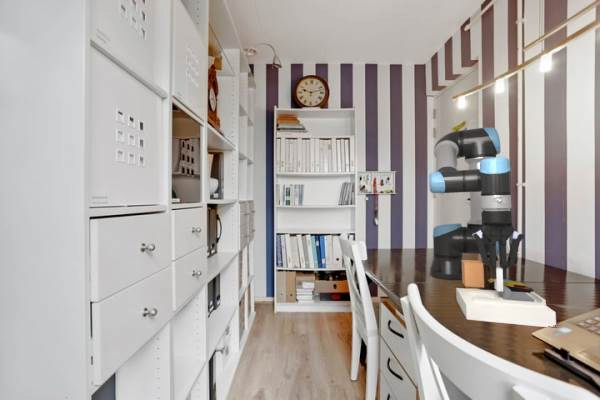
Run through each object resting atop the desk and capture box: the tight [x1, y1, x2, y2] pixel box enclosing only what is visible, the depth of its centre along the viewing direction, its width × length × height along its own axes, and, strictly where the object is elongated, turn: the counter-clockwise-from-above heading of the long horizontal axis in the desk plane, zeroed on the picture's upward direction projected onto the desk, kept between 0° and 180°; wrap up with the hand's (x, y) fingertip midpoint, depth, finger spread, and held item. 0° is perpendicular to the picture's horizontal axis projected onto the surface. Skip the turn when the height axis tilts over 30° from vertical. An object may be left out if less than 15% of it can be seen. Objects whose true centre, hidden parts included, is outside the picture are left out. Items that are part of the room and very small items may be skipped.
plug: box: [461, 259, 485, 290], centre depth 102 cm, size 6×6×12 cm
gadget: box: [485, 277, 534, 294], centre depth 102 cm, size 6×13×6 cm, turn 75°
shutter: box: [500, 285, 534, 302], centre depth 85 cm, size 6×6×3 cm
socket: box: [455, 287, 557, 328], centre depth 87 cm, size 18×20×6 cm
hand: (498, 289), depth 87 cm, fingers closed
